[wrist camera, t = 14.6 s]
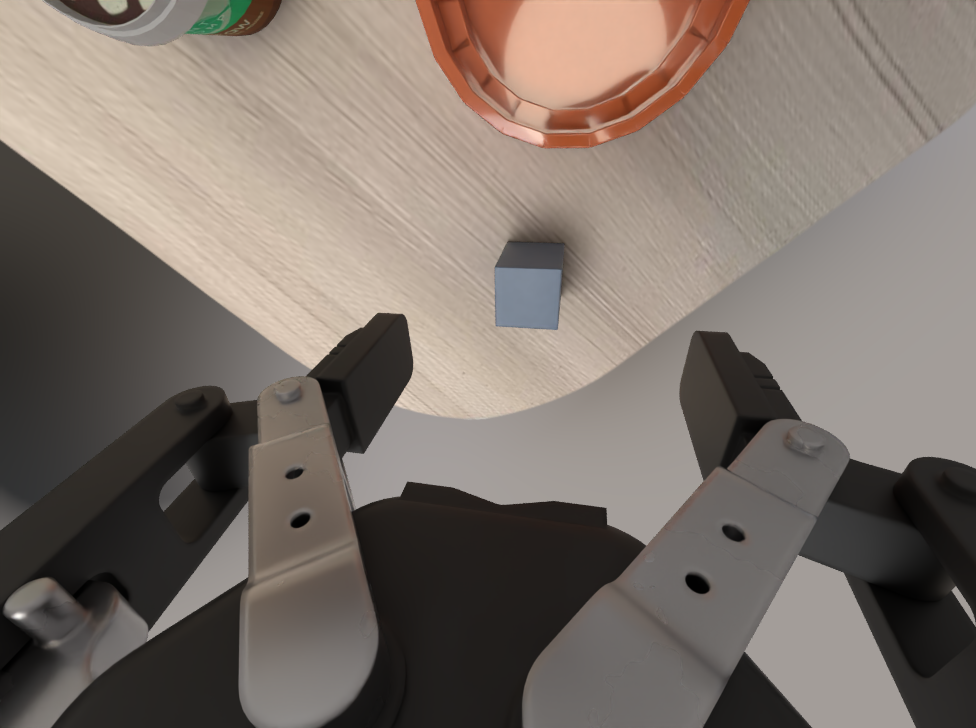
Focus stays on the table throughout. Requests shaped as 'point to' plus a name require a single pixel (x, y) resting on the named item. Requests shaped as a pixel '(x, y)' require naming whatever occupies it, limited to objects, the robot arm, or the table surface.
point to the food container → (168, 17)
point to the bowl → (575, 61)
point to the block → (529, 285)
